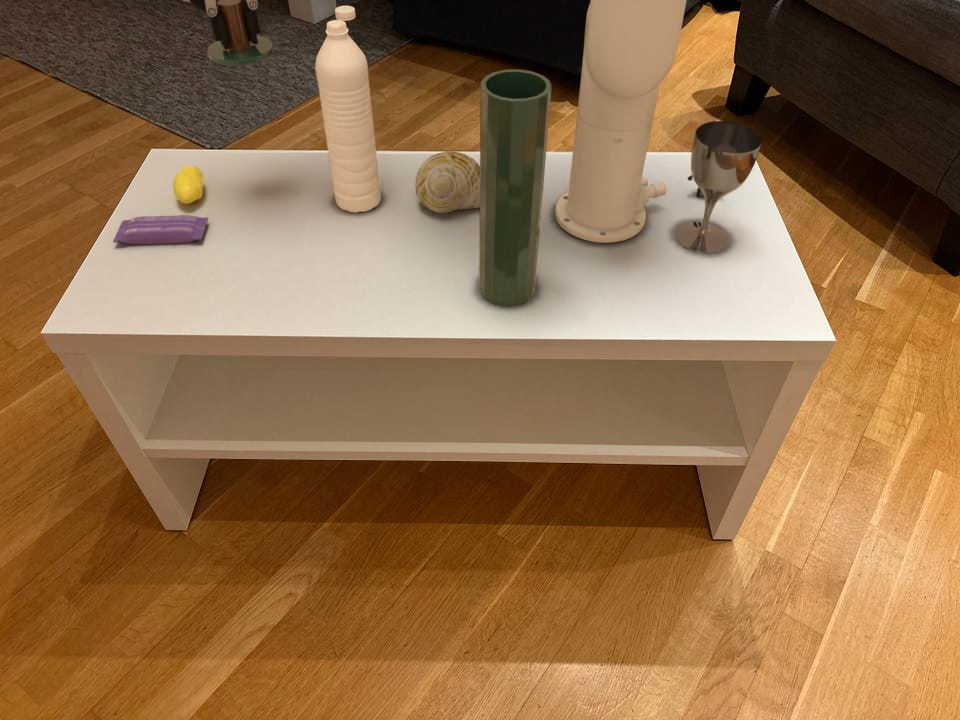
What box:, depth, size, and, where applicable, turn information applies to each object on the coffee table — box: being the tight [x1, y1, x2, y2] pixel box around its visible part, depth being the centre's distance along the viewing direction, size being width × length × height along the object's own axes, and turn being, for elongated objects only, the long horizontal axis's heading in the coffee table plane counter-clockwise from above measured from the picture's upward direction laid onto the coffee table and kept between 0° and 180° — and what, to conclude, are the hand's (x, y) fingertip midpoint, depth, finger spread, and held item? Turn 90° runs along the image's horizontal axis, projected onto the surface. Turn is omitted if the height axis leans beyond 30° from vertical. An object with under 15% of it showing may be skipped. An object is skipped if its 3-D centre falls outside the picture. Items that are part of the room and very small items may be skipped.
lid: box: [207, 0, 274, 66], centre depth 91 cm, size 8×8×7 cm
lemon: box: [172, 165, 205, 205], centre depth 105 cm, size 4×8×4 cm, turn 5°
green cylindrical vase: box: [478, 69, 552, 307], centre depth 83 cm, size 7×7×26 cm
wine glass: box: [674, 120, 763, 254], centre depth 95 cm, size 8×8×15 cm
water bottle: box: [314, 5, 382, 213], centre depth 98 cm, size 9×6×25 cm
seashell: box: [415, 150, 480, 214], centre depth 104 cm, size 10×10×10 cm
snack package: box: [112, 214, 209, 245], centre depth 99 cm, size 12×2×5 cm
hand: (238, 41), depth 92 cm, fingers closed on lid, 2 cm apart
